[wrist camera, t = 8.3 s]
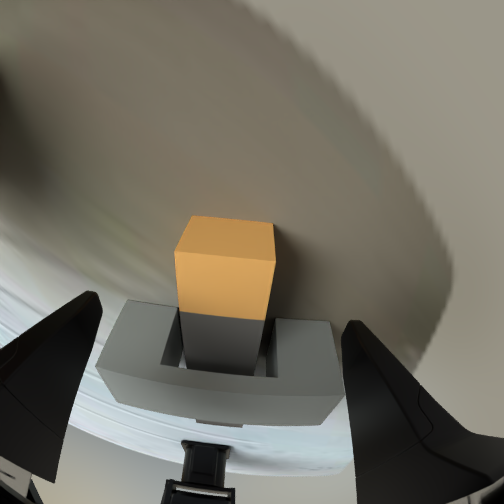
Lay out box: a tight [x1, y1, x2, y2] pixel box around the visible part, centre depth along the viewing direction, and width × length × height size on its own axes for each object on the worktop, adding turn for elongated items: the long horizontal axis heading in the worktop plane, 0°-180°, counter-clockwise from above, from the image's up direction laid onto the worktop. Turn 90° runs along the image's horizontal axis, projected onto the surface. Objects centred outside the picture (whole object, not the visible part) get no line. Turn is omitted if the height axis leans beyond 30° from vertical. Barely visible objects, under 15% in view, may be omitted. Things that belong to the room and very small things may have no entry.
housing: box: [95, 300, 345, 426], centre depth 14 cm, size 4×12×5 cm, turn 84°
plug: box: [174, 216, 276, 428], centre depth 15 cm, size 16×4×3 cm, turn 174°
